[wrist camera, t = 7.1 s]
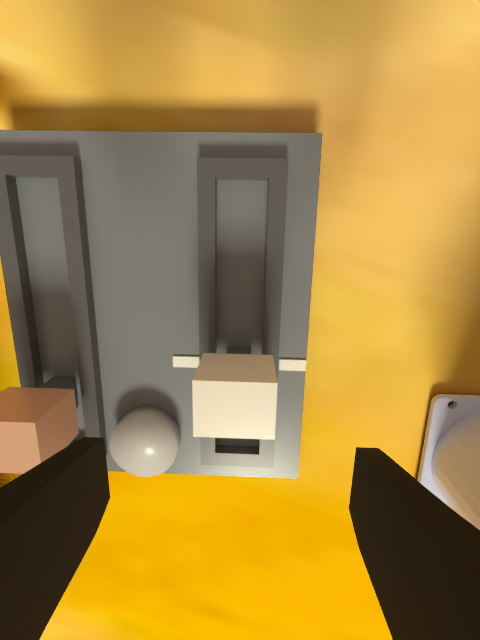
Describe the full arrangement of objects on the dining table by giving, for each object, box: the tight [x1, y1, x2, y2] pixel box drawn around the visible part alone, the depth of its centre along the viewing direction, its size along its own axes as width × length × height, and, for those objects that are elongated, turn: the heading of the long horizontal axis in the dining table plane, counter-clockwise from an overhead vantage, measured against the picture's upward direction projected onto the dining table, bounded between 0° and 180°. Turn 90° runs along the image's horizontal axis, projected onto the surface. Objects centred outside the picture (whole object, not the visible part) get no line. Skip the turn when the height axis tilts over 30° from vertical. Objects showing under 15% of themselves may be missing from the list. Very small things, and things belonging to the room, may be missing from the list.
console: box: [0, 130, 322, 479], centre depth 17 cm, size 15×18×3 cm
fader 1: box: [0, 377, 79, 474], centre depth 16 cm, size 3×2×5 cm
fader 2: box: [192, 347, 278, 440], centre depth 15 cm, size 3×2×5 cm
